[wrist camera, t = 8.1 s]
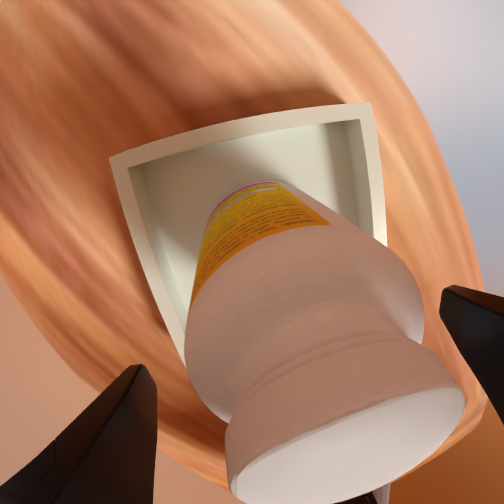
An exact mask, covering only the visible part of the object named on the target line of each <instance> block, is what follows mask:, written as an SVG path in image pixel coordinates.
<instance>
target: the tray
mask: <svg viewBox="0 0 504 504" xmlns="http://www.w3.org/2000/svg"><path fill="white" fill-rule="evenodd" d="M108 158H109V162H110V166H111V170H112V174H113V177H114V181H115V185H116V188H117V192H118V195H119V199H120V202H121V205H122V209H123V212H124V215H125V218H126V222H127V225H128V228H129V231H130V234H131V237H132V240H133V243H134V246H135V248H136V251H137V254H138V257H139V260H140V262H141V265H142V268H143V270H144V273H145V276H146V278H147V281H148V284H149V286H150V289H151V291H152V294H153V296H154V299H155V301H156V303H157V306H158V308H159V311H160V313H161V315H162V318H163V320H164V322H165V324H166V327H167V329H168V331H169V333H170V336H171V338H172V340H173V342H174V344H175V346H176V349H177V351H178V353H179V355H180V357H181V359H182V361H183V363H184V365H185V367H186V364H185V358H184V340H185V330H186V323H187V317H188V311H189V306H190V301H191V295H192V289H193V284H194V279H195V273H196V268H197V263H198V258H199V253H200V248H201V243H202V239H203V234H204V231H205V227H206V224H207V222H208V219H209V217H210V215H211V213H212V212H213V210H214V209H215V207H216V206H217V205H218V204H219V203H220V201H221V200H222V199H224V198H225V197H226V196H227V195H228V194H230V193H231V192H232V191H234V190H236V189H238V188H240V187H242V186H244V185H247V184H250V183H254V182H260V181H276V182H282V183H286V184H289V185H291V186H294V187H296V188H298V189H300V190H301V191H303V192H305V193H306V194H308V195H309V196H311V197H313V198H314V199H316V200H317V201H319V202H320V203H322V204H324V205H325V206H327V207H328V208H330V209H331V210H333V211H335V212H336V213H338V214H339V215H341V216H342V217H344V218H345V219H347V220H348V221H350V222H351V223H352V224H354V225H355V226H357V227H358V228H360V229H361V230H363V231H364V232H366V233H367V234H369V235H370V236H372V237H373V238H375V239H376V240H378V241H379V242H381V243H382V244H383V245H385V246H386V247H387V232H386V213H385V199H384V188H383V178H382V169H381V161H380V153H379V146H378V140H377V133H376V127H375V122H374V116H373V111H372V106H371V102H366V103H349V104H337V105H326V106H317V107H309V108H301V109H293V110H287V111H280V112H274V113H268V114H262V115H257V116H252V117H247V118H242V119H237V120H232V121H228V122H223V123H219V124H215V125H210V126H206V127H202V128H198V129H195V130H191V131H187V132H184V133H180V134H176V135H173V136H170V137H166V138H163V139H160V140H157V141H153V142H150V143H147V144H144V145H141V146H138V147H135V148H132V149H130V150H127V151H124V152H121V153H118V154H116V155H113V156H110V157H108Z"/></svg>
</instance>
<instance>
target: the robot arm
mask: <svg viewBox="0 0 504 504" xmlns="http://www.w3.org/2000/svg"><path fill="white" fill-rule="evenodd" d="M439 314H440V317H441V319H442V321H443V323H444V325H445V326H446V328H447V330H448V331H449V333H450V335H451V337H452V339H453V340H454V342H455V344H456V346H457V348H458V350H459V351H460V353H461V355H462V356H463V358H464V359H465V361H466V362H467V364H468V365H469V367H470V368H471V370H472V372H473V373H474V375H475V376H476V378H477V379H478V381H479V383H480V384H481V386H482V388H483V389H484V391H485V393H486V394H487V396H488V398H489V399H490V401H491V403H492V405H493V406H494V408H495V410H496V412H497V413H498V415H499V417H500V419H501V421H502V422H503V425H504V297H500V296H496V295H493V294H489V293H485V292H481V291H477V290H473V289H469V288H465V287H461V286H457V285H451V286H449V287H446V288H444V289H443V291H442V295H441V302H440V308H439ZM156 445H157V387H156V384H155V382H154V380H153V379H152V377H151V375H150V374H149V372H148V370H147V368H146V367H145V366H144V365H143V364H137V365H130V366H129V367H128V368H127V369H126V370H125V371H124V372H123V373H122V374H121V375H120V376H119V377H117V378H116V379H115V380H114V381H113V382H112V383H111V384H110V385H109V386H108V387H107V388H106V389H105V390H104V391H103V392H102V393H101V394H100V395H99V396H98V397H97V398H96V399H95V400H94V401H93V402H92V403H91V404H90V405H89V406H88V407H87V408H86V409H85V410H84V411H83V412H82V413H81V414H80V415H79V416H78V417H77V418H76V419H75V420H74V421H73V422H72V423H70V425H68V427H67V428H65V430H63V431H62V432H61V433H60V435H58V436H57V437H56V438H55V440H53V441H52V442H51V443H50V444H49V445H48V446H47V447H46V448H45V449H44V450H43V451H42V452H41V453H40V454H39V455H38V456H37V457H36V458H34V459H33V460H32V461H31V462H30V463H28V464H27V465H26V466H25V467H24V468H22V469H21V470H20V471H19V472H17V473H16V474H15V475H14V476H12V477H11V478H10V479H9V480H8V481H6V482H5V483H4V484H2V485H1V486H0V504H153V488H154V470H155V457H156ZM333 504H378V503H377V501H376V499H375V497H374V495H373V493H372V491H370V492H368V493H365V494H362V495H360V496H357V497H354V498H351V499H348V500H345V501H341V502H337V503H333Z"/></svg>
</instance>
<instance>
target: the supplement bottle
mask: <svg viewBox="0 0 504 504" xmlns="http://www.w3.org/2000/svg"><path fill="white" fill-rule="evenodd" d="M424 323H425V319H424V305H423V300H422V296H421V292H420V289H419V287H418V284H417V282H416V280H415V278H414V276H413V274H412V273H411V271H410V270H409V268H408V267H407V266H406V265H405V263H404V262H403V261H402V260H401V259H400V258H399V257H398V256H397V255H396V254H395V253H394V252H393V251H391V250H390V249H389V248H388V247H386V246H385V245H383V244H382V243H381V242H379V241H378V240H376V239H375V238H373V237H372V236H370V235H369V234H367V233H366V232H364V231H363V230H361V229H360V228H358V227H357V226H355V225H354V224H352V223H351V222H350V221H348V220H347V219H345V218H344V217H342V216H341V215H339V214H338V213H336V212H335V211H333V210H331V209H330V208H328V207H327V206H325V205H324V204H322V203H320V202H319V201H317V200H316V199H314V198H313V197H311V196H309V195H308V194H306V193H305V192H303V191H301V190H300V189H298V188H296V187H294V186H291V185H289V184H286V183H282V182H276V181H260V182H254V183H250V184H247V185H244V186H242V187H240V188H238V189H236V190H234V191H232V192H231V193H230V194H228V195H227V196H226V197H225V198H224V199H222V200H221V201H220V203H219V204H218V205H217V206H216V207H215V209H214V210H213V212H212V213H211V215H210V217H209V219H208V222H207V224H206V227H205V231H204V234H203V239H202V243H201V248H200V253H199V258H198V263H197V268H196V273H195V279H194V284H193V289H192V295H191V301H190V306H189V311H188V317H187V323H186V330H185V340H184V358H185V364H186V369H187V372H188V376H189V378H190V381H191V383H192V386H193V388H194V390H195V391H196V393H197V395H198V396H199V398H200V399H201V400H202V401H203V403H204V404H205V405H206V406H207V407H208V408H209V409H210V410H211V411H212V412H213V413H214V414H215V415H217V416H218V417H219V418H220V419H222V420H223V421H225V422H227V423H228V424H229V425H228V427H227V430H226V433H225V453H226V468H227V479H228V484H229V488H230V490H231V492H232V493H233V495H234V496H235V497H236V498H238V499H239V500H241V501H243V502H245V503H247V504H333V503H337V502H341V501H345V500H348V499H351V498H354V497H357V496H360V495H362V494H365V493H368V492H370V491H373V490H375V489H377V488H379V487H381V486H383V485H385V484H387V483H389V482H391V481H393V480H394V479H396V478H398V477H400V476H401V475H403V474H405V473H406V472H408V471H409V470H411V469H413V468H414V467H415V466H417V465H418V464H419V463H421V462H422V461H423V460H424V459H426V458H427V457H428V456H429V455H431V454H432V453H433V452H434V451H435V450H436V449H437V448H438V447H439V446H440V445H441V444H442V443H443V442H444V441H445V440H446V438H447V437H448V436H449V435H450V434H451V432H452V431H453V430H454V428H455V427H456V425H457V424H458V422H459V420H460V418H461V416H462V413H463V410H464V406H465V397H464V393H463V391H462V389H461V388H460V386H459V384H458V383H457V382H456V380H455V379H454V377H453V376H452V375H451V373H450V372H449V371H448V369H447V368H446V367H445V365H444V364H443V362H442V361H441V360H440V358H439V357H438V356H437V354H436V353H435V352H434V351H433V350H432V349H430V348H428V347H426V346H424V345H421V342H422V338H423V333H424Z"/></svg>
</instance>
